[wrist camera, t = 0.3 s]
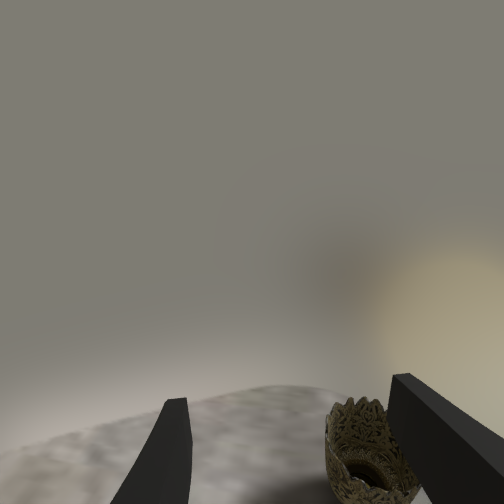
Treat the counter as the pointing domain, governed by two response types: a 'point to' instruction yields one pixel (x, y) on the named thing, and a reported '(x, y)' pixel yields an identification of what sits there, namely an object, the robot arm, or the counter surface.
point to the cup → (366, 456)
